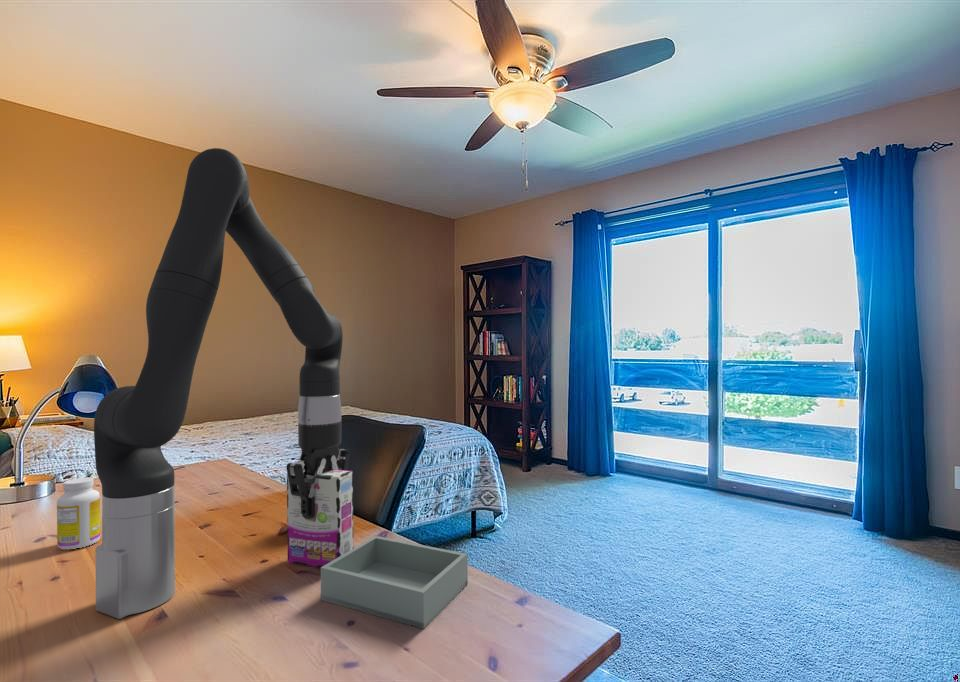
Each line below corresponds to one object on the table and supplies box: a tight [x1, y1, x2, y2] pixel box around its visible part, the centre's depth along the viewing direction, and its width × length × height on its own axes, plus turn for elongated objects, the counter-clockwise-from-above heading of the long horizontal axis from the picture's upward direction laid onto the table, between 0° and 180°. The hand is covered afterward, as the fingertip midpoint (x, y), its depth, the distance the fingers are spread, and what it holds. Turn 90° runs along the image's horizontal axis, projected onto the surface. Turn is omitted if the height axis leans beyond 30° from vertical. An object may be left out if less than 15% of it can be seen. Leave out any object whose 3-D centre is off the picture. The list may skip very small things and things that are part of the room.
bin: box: [320, 535, 469, 630], centre depth 77 cm, size 14×19×5 cm
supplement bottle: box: [56, 477, 101, 549], centre depth 97 cm, size 7×7×13 cm
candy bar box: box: [286, 469, 355, 569], centre depth 88 cm, size 11×5×16 cm, turn 73°
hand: (320, 512), depth 88 cm, fingers closed on candy bar box, 5 cm apart
